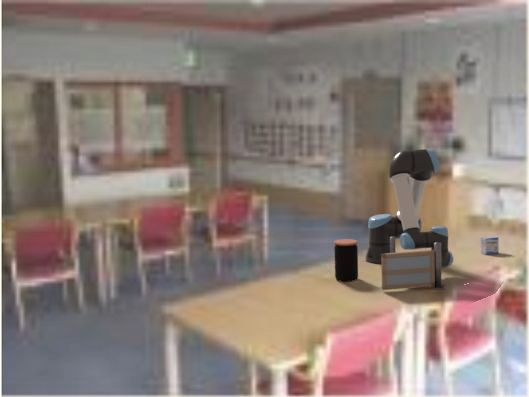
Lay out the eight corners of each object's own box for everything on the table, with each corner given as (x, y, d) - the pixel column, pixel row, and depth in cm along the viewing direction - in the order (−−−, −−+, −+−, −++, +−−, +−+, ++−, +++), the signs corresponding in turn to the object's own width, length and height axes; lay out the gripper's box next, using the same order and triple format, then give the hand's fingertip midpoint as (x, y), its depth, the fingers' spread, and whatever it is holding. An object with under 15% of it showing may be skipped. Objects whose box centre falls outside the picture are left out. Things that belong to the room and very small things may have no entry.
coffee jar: (343, 275, 334) (342, 238, 331) (362, 278, 327) (361, 240, 324) (330, 280, 325) (329, 242, 323) (350, 283, 319) (349, 244, 316)
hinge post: (430, 289, 303) (430, 244, 300) (431, 285, 309) (430, 241, 306) (445, 289, 301) (444, 244, 299) (445, 286, 307) (444, 241, 304)
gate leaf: (433, 284, 305) (432, 250, 303) (434, 285, 304) (434, 250, 302) (381, 288, 302) (381, 253, 300) (383, 289, 301) (382, 254, 299)
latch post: (390, 277, 326) (389, 237, 323) (390, 276, 328) (390, 236, 326) (395, 277, 325) (395, 237, 323) (396, 276, 328) (395, 236, 325)
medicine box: (485, 255, 363) (485, 238, 362) (480, 253, 368) (480, 237, 366) (498, 253, 365) (498, 237, 364) (493, 251, 370) (493, 235, 368)
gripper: (437, 274, 312) (400, 283, 298) (414, 269, 322) (378, 277, 308) (437, 257, 311) (400, 266, 297) (414, 253, 321) (378, 261, 307)
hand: (389, 272), depth 303 cm, fingers closed
